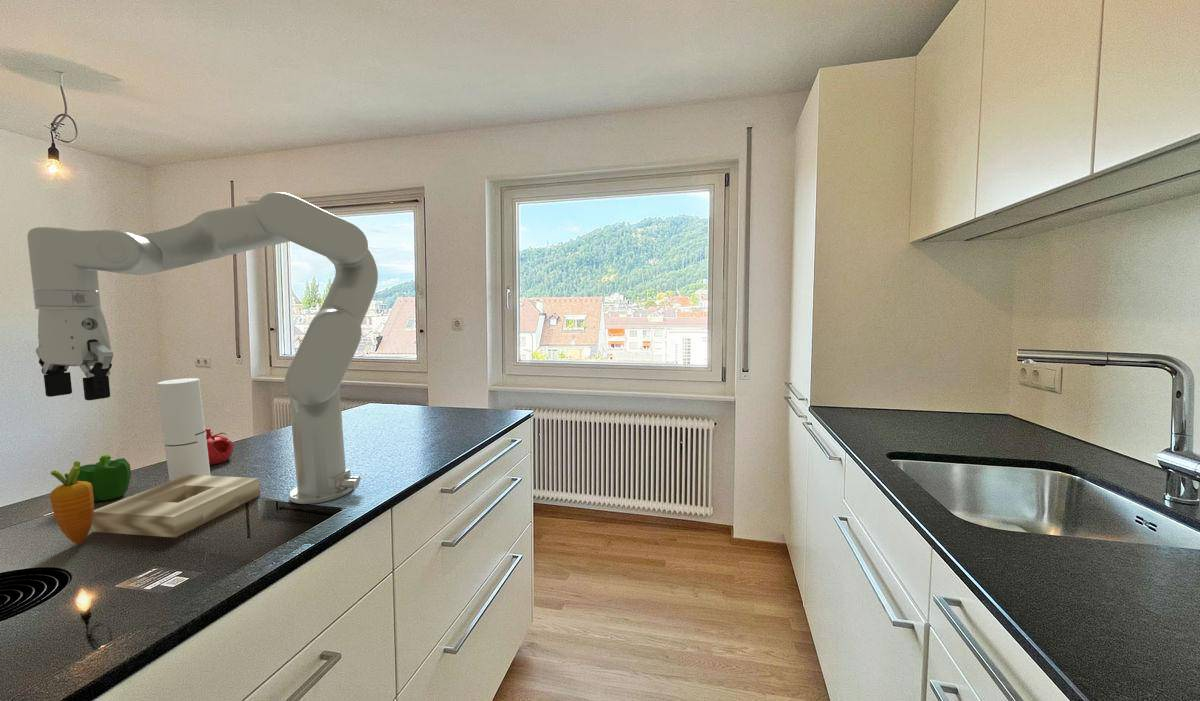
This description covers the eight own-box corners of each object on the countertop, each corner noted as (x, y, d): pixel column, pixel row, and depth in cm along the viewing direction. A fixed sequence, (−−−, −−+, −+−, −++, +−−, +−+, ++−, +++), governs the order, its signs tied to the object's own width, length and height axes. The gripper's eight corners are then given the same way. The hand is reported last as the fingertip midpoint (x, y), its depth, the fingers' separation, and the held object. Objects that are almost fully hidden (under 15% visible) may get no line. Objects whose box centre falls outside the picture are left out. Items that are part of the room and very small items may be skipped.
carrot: (61, 554, 78) (48, 471, 77) (55, 546, 81) (42, 465, 79) (103, 541, 83) (92, 462, 81) (96, 534, 85) (85, 457, 83)
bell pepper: (80, 498, 101) (73, 454, 99) (133, 486, 107) (127, 445, 105) (78, 510, 95) (71, 464, 94) (134, 497, 101) (128, 454, 100)
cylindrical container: (219, 479, 110) (207, 378, 107) (189, 492, 103) (177, 384, 100) (192, 478, 111) (180, 378, 108) (161, 491, 104) (147, 383, 101)
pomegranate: (180, 472, 116) (174, 437, 114) (196, 459, 125) (190, 426, 124) (228, 465, 120) (223, 431, 118) (240, 453, 129) (235, 421, 127)
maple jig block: (260, 495, 102) (258, 478, 101) (176, 537, 84) (173, 516, 83) (189, 491, 104) (187, 474, 103) (92, 531, 86) (90, 511, 86)
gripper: (130, 301, 81) (139, 396, 83) (63, 300, 85) (72, 390, 87) (74, 301, 74) (84, 405, 76) (3, 299, 78) (14, 398, 80)
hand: (78, 397), depth 81 cm, fingers open, 9 cm apart
